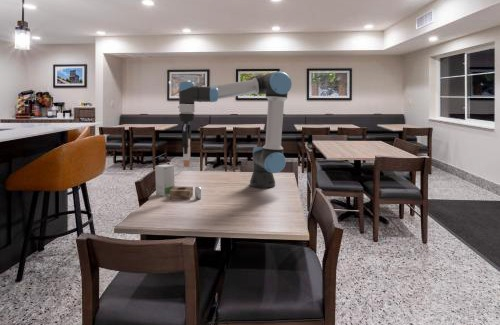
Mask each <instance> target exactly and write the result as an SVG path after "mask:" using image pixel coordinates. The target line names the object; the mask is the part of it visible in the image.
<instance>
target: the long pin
mask: <svg viewBox="0 0 500 325" xmlns="http://www.w3.org/2000/svg"><path fill="white" fill-rule="evenodd" d="M188 147H189V160H183V167H184V168H188V167H191V164H190V162H191V161H190V160H191V146H190V139H189V141H188Z"/></svg>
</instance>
